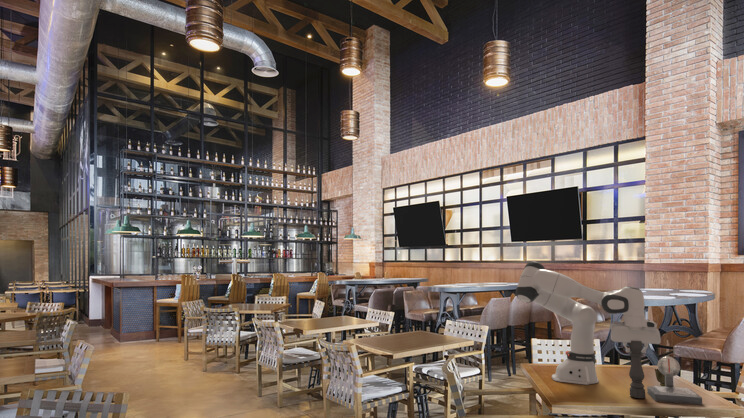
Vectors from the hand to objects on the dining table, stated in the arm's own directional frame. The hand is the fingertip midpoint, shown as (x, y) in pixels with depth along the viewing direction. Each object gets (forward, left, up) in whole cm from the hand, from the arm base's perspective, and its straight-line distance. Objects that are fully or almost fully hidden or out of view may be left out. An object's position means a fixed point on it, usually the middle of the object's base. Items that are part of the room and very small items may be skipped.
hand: (635, 352), depth 221 cm
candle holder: (0, 0, -20) cm, 20 cm away
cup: (+17, +26, -20) cm, 37 cm away
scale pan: (+15, +1, -17) cm, 23 cm away
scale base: (+15, +3, -20) cm, 25 cm away
